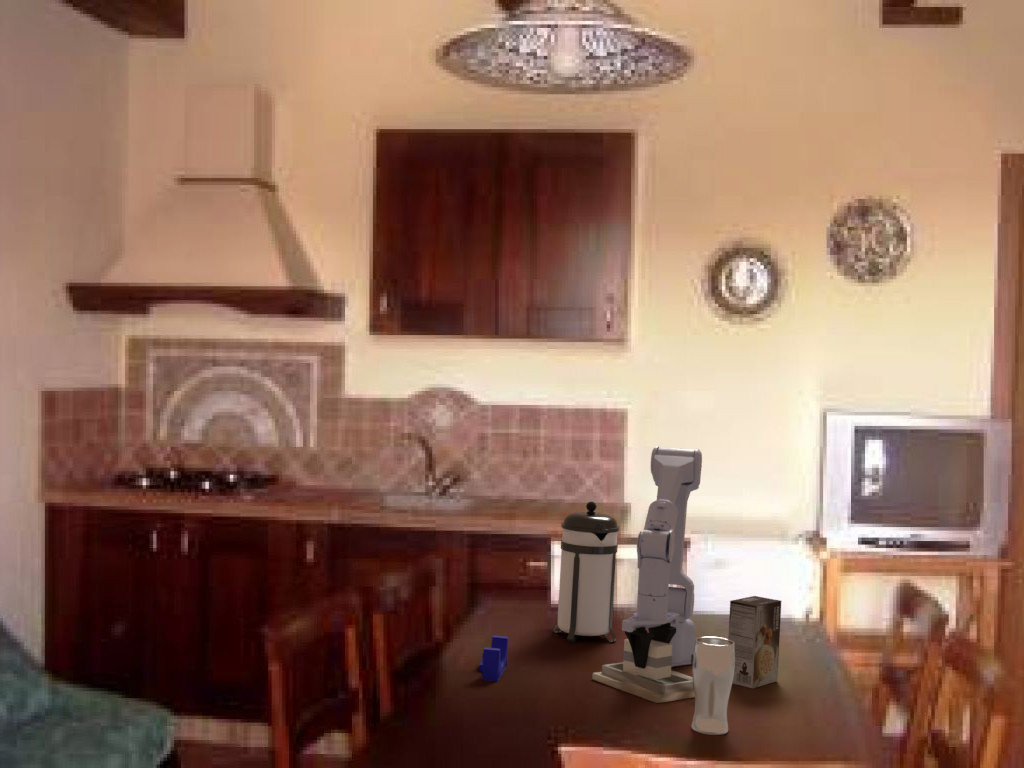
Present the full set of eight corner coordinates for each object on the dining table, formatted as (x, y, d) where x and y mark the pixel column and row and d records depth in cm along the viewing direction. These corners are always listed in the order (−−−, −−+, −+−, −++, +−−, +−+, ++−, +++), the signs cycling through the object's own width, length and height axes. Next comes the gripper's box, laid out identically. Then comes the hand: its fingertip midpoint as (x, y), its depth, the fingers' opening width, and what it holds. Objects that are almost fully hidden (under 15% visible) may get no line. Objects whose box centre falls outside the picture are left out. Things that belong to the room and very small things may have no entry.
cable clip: (484, 665, 245) (485, 634, 245) (506, 667, 245) (508, 636, 244) (474, 680, 233) (475, 648, 233) (497, 682, 233) (499, 650, 233)
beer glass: (684, 722, 212) (689, 635, 212) (724, 724, 213) (729, 636, 212) (694, 735, 205) (699, 645, 205) (735, 736, 206) (740, 646, 205)
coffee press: (631, 636, 277) (639, 502, 277) (597, 648, 264) (605, 507, 263) (564, 624, 286) (571, 494, 286) (528, 635, 273) (535, 499, 272)
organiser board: (653, 670, 247) (655, 633, 247) (719, 692, 233) (721, 653, 233) (592, 679, 238) (594, 640, 238) (657, 703, 223) (659, 662, 223)
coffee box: (749, 675, 248) (754, 594, 248) (778, 681, 244) (783, 600, 244) (724, 682, 241) (729, 599, 241) (753, 689, 237) (758, 605, 237)
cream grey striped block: (637, 668, 239) (639, 637, 239) (671, 676, 233) (672, 644, 233) (622, 671, 236) (624, 639, 236) (655, 679, 230) (657, 647, 230)
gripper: (660, 586, 242) (656, 656, 242) (611, 593, 232) (607, 665, 232) (689, 592, 237) (685, 663, 237) (640, 600, 227) (636, 674, 227)
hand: (648, 665), depth 234 cm, fingers closed on cream grey striped block, 4 cm apart
